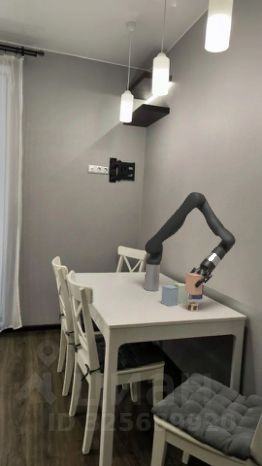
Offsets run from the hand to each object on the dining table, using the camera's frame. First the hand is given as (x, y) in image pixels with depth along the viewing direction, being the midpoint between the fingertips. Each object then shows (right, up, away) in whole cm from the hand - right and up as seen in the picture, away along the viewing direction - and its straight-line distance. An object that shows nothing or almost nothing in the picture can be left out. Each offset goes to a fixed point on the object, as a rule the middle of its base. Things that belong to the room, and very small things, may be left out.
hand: (191, 285), depth 171 cm
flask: (+7, -13, +25) cm, 29 cm away
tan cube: (+1, -14, +2) cm, 14 cm away
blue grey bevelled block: (-11, -13, +10) cm, 19 cm away
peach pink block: (+1, -4, +1) cm, 5 cm away
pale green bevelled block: (-3, -12, +18) cm, 22 cm away
